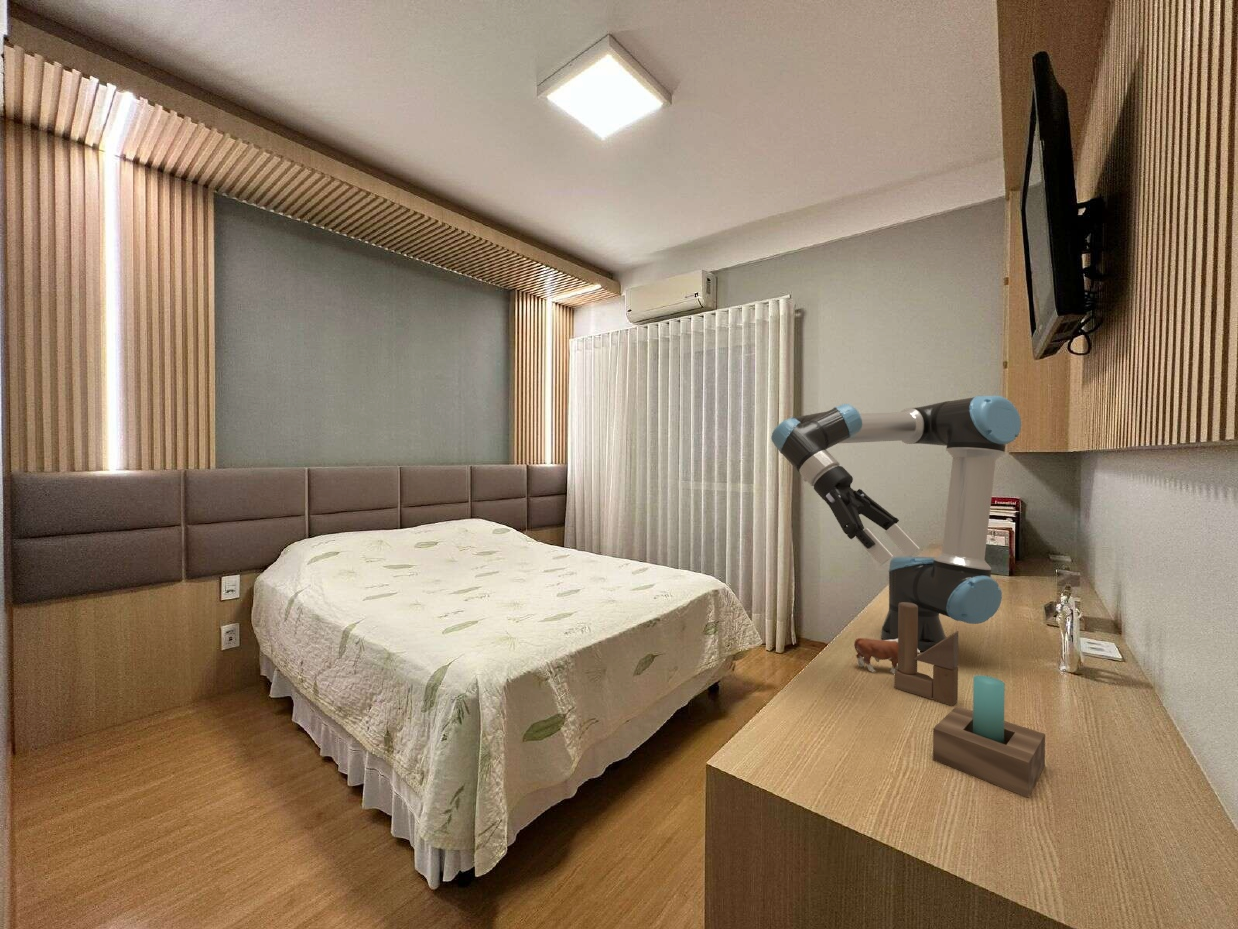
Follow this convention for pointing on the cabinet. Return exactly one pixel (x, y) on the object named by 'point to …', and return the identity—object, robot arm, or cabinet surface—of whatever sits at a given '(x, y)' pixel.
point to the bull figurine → (877, 652)
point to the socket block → (990, 752)
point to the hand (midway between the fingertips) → (901, 556)
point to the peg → (988, 707)
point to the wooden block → (938, 655)
